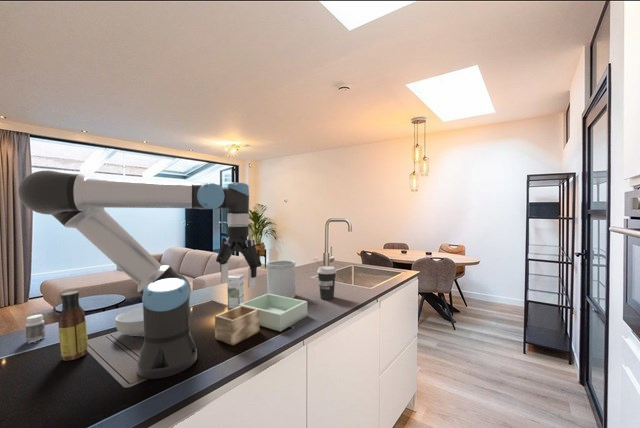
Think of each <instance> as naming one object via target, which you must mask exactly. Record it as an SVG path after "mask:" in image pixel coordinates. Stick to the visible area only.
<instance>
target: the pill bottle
mask: <svg viewBox="0 0 640 428" xmlns="http://www.w3.org/2000/svg"><path fill="white" fill-rule="evenodd" d="M45 324H46V323H45V320H44V315H43V314H40V313H39V314H34V315H30V316H27V317H26V323H25V324H24V332H25V343H26V342H29V341H36V340H40V339H43V338H44V337H45V338H46V334H45V333H46V328H45V327H46V326H45ZM45 338H44V339H45ZM44 339H43V340H44Z"/></svg>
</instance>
